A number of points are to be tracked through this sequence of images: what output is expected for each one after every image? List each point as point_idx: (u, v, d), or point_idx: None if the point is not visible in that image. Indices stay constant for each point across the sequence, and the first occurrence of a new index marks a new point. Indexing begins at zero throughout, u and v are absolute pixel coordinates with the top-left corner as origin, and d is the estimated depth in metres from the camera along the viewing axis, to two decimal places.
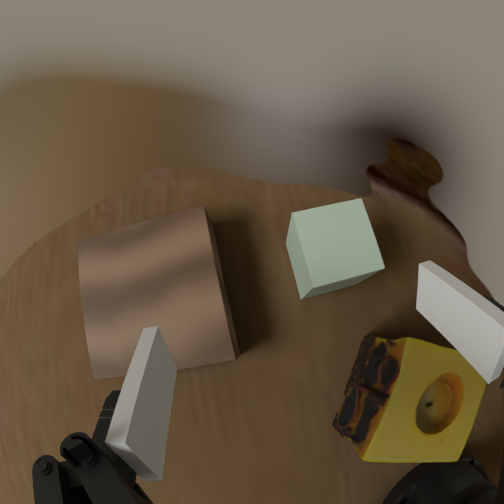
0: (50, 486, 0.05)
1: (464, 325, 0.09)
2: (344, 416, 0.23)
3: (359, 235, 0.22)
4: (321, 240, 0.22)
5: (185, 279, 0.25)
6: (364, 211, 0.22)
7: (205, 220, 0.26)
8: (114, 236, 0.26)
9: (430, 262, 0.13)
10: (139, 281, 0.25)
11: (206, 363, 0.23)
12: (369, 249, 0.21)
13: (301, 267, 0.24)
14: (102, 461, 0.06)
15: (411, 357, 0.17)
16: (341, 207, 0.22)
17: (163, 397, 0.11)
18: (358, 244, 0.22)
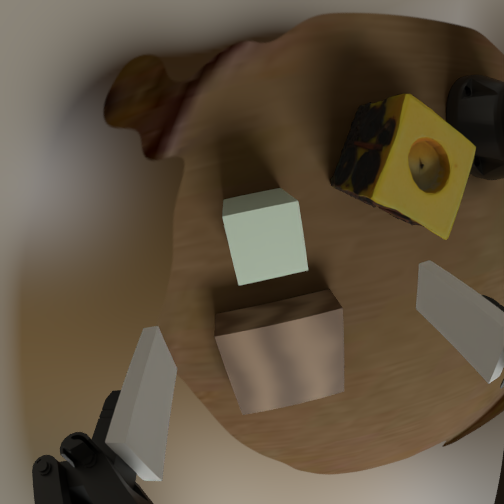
0: (50, 486, 0.05)
1: (464, 325, 0.09)
2: None
3: (263, 223, 0.23)
4: (266, 261, 0.24)
5: (278, 344, 0.31)
6: (237, 215, 0.23)
7: (228, 334, 0.30)
8: (240, 392, 0.33)
9: (430, 262, 0.13)
10: (277, 373, 0.33)
11: (342, 326, 0.31)
12: (278, 215, 0.23)
13: None
14: (102, 461, 0.06)
15: (388, 197, 0.21)
16: (233, 238, 0.23)
17: (163, 397, 0.11)
18: (273, 226, 0.23)
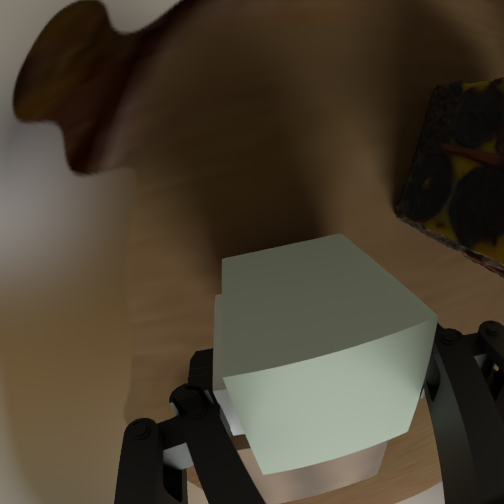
0: (144, 453, 0.06)
1: None
2: None
3: (342, 383, 0.07)
4: (330, 441, 0.08)
5: None
6: (270, 371, 0.07)
7: None
8: None
9: None
10: (297, 477, 0.19)
11: None
12: (385, 359, 0.07)
13: None
14: (212, 415, 0.08)
15: None
16: (254, 418, 0.07)
17: None
18: (365, 383, 0.07)
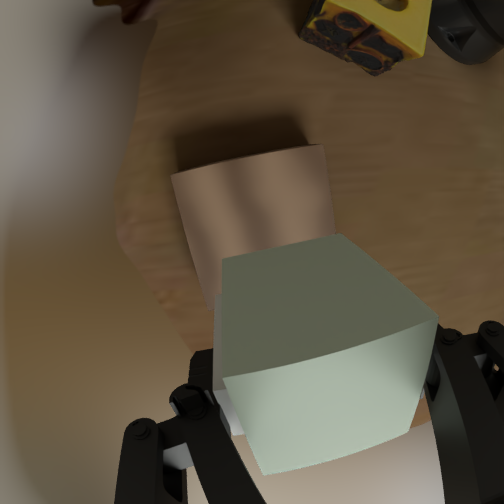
0: (144, 453, 0.06)
1: None
2: (371, 64, 0.24)
3: (342, 383, 0.07)
4: (331, 441, 0.08)
5: (247, 188, 0.26)
6: (270, 372, 0.07)
7: (187, 171, 0.25)
8: (203, 269, 0.28)
9: None
10: (249, 236, 0.27)
11: (326, 170, 0.26)
12: (385, 359, 0.07)
13: None
14: (212, 415, 0.08)
15: (344, 0, 0.16)
16: (254, 419, 0.07)
17: None
18: (365, 383, 0.07)
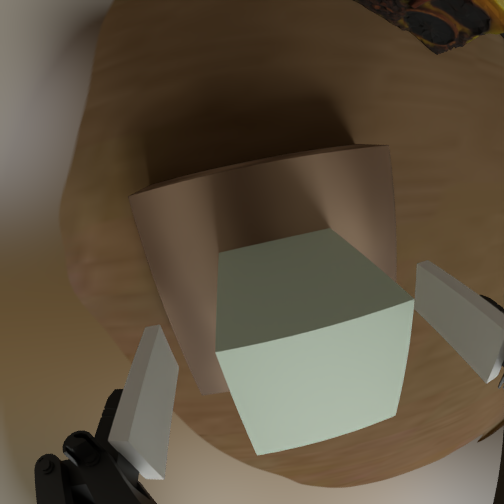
0: (52, 485, 0.05)
1: (462, 325, 0.10)
2: (437, 36, 0.13)
3: (325, 360, 0.08)
4: (319, 420, 0.09)
5: (263, 219, 0.15)
6: (257, 347, 0.08)
7: (156, 190, 0.14)
8: (190, 344, 0.17)
9: (428, 262, 0.13)
10: None
11: (391, 189, 0.15)
12: (365, 338, 0.08)
13: None
14: (105, 460, 0.06)
15: None
16: (245, 394, 0.08)
17: (165, 396, 0.11)
18: (347, 362, 0.08)
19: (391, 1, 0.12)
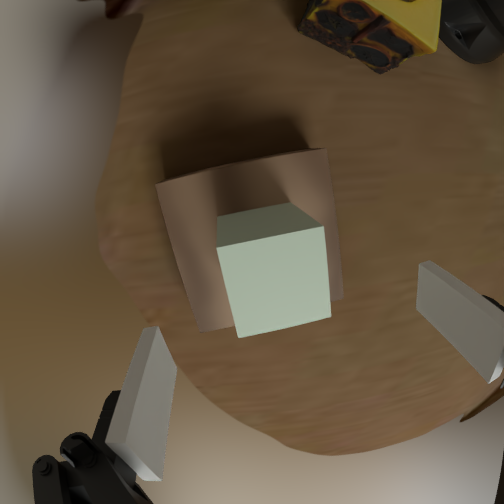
0: (50, 486, 0.05)
1: (464, 325, 0.09)
2: (376, 61, 0.22)
3: (274, 258, 0.16)
4: (276, 307, 0.17)
5: (242, 198, 0.23)
6: (238, 245, 0.16)
7: (173, 180, 0.22)
8: (193, 288, 0.25)
9: (430, 262, 0.13)
10: None
11: (329, 177, 0.23)
12: (296, 246, 0.16)
13: None
14: (102, 461, 0.06)
15: None
16: (231, 278, 0.16)
17: (164, 397, 0.11)
18: (288, 261, 0.16)
19: (338, 38, 0.21)
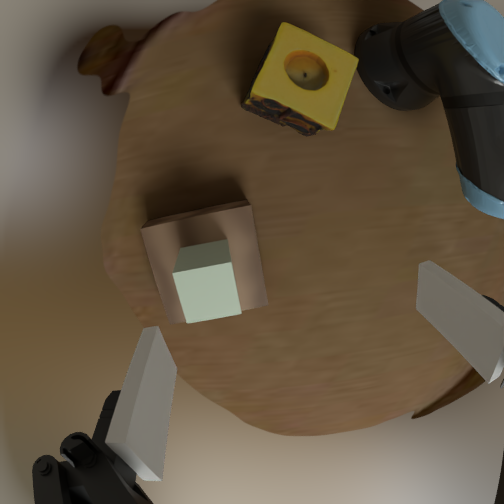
0: (50, 486, 0.05)
1: (464, 325, 0.09)
2: (301, 129, 0.35)
3: (204, 279, 0.29)
4: (207, 306, 0.30)
5: (194, 239, 0.36)
6: (183, 272, 0.29)
7: (151, 226, 0.35)
8: (165, 294, 0.38)
9: (430, 262, 0.13)
10: None
11: (253, 224, 0.36)
12: (215, 273, 0.29)
13: None
14: (102, 461, 0.06)
15: (266, 90, 0.26)
16: (181, 289, 0.29)
17: (163, 397, 0.11)
18: (211, 281, 0.29)
19: (269, 115, 0.34)
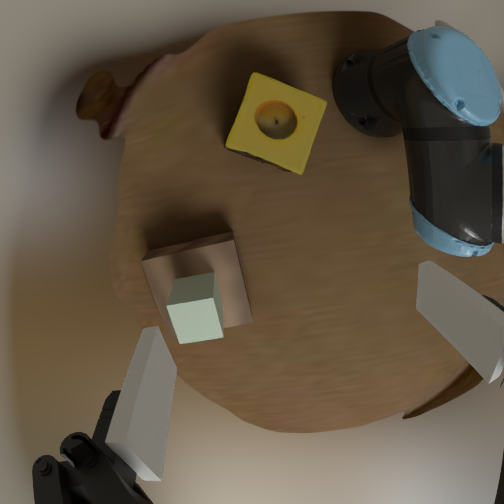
0: (50, 486, 0.05)
1: (464, 325, 0.09)
2: None
3: (191, 310, 0.35)
4: (195, 331, 0.36)
5: (187, 269, 0.42)
6: (175, 305, 0.35)
7: (150, 259, 0.41)
8: (164, 314, 0.44)
9: (430, 262, 0.13)
10: None
11: (236, 256, 0.42)
12: (201, 306, 0.35)
13: None
14: (102, 461, 0.06)
15: (238, 143, 0.32)
16: (173, 318, 0.35)
17: (163, 397, 0.11)
18: (197, 312, 0.35)
19: (249, 156, 0.39)
